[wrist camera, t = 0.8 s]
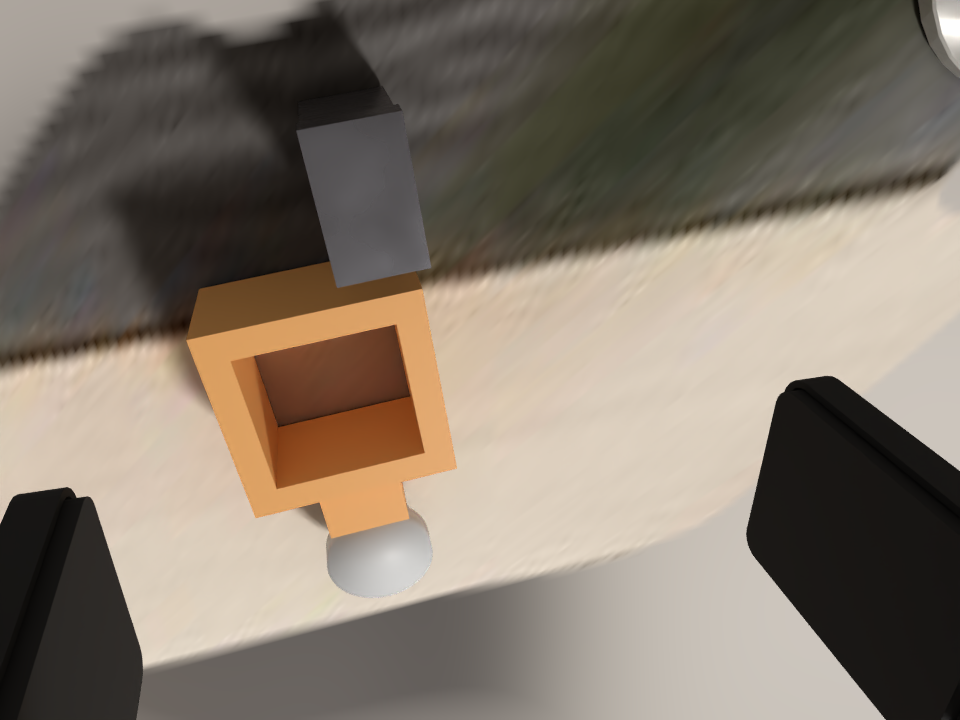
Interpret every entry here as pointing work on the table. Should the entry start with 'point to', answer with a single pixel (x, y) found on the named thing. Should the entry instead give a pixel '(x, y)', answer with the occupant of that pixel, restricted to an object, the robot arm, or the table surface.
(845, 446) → the robot arm
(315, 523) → the table surface
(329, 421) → the orange handled frame
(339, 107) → the grey rectangular block
